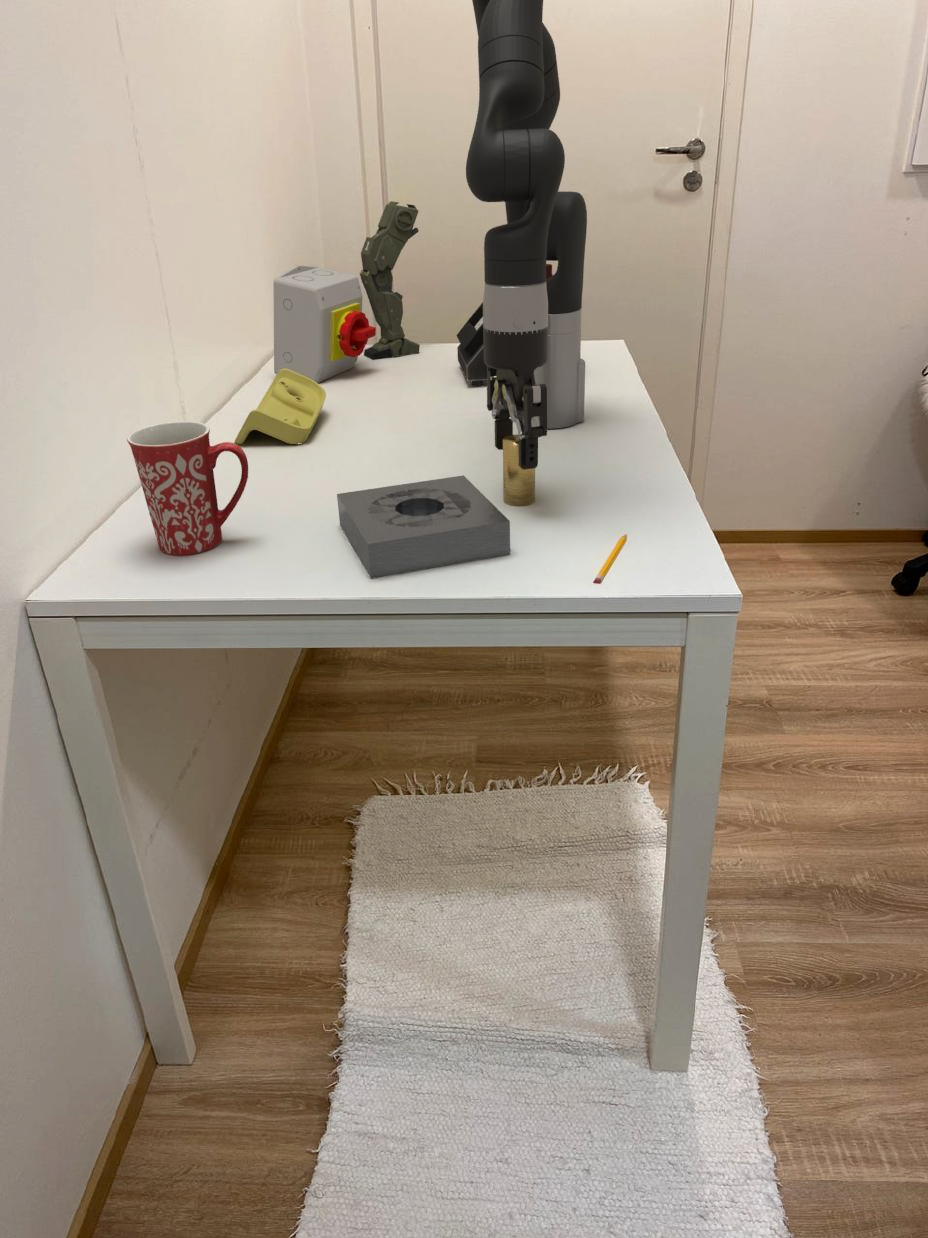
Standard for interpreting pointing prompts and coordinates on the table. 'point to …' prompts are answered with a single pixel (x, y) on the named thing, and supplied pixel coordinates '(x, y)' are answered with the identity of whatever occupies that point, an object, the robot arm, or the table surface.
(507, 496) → the brass peg
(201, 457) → the mug
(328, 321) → the electrical switch box
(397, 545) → the jig
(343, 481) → the table surface
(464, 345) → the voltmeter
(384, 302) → the mechanical leg
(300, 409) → the plastic component
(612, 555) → the pencil
